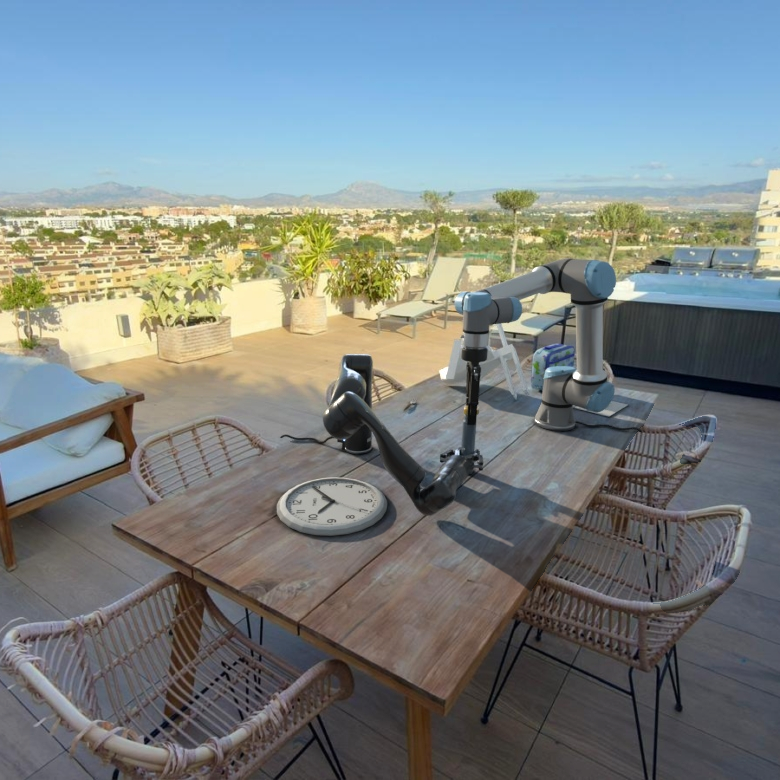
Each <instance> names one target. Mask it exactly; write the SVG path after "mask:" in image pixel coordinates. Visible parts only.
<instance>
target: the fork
mask: <svg viewBox="0 0 780 780" xmlns="http://www.w3.org/2000/svg"><path fill="white" fill-rule="evenodd" d="M418 398H419V396H415V395H413V396H412V398H411V399H410V402H409V403H408V404H407V405H406V406H405V407H404V409H403V411H406V410H407V409H409V408H410V407H411V405H413V404H416V403H417V402H418Z"/></svg>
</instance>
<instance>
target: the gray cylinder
mask: <svg viewBox="0 0 780 780" xmlns="http://www.w3.org/2000/svg"><path fill="white" fill-rule="evenodd" d="M476 423H477V420H476ZM476 434H477V424H476V425H467V415H465V414H464V419H462V432H461V446H460V447H461V455H462V456H467V455H469V454H473V453H474V451H475V450H476ZM473 473H474V469H472V470H470V472H469V474H468V475H471V474H473Z"/></svg>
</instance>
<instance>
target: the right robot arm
mask: <svg viewBox="0 0 780 780" xmlns="http://www.w3.org/2000/svg"><path fill="white" fill-rule="evenodd" d="M616 285H617V275H616V272H615V269H614V267H613V266H612V265H611V264H610V263H609V262H607V261H602V260H599V259H586V258H583V259H582V258H571V257H570V258H569V257H568V258H562V259H556V260H554V261H551V262H547V263H545V264H542V265H539V266H536V267H534V268H533V269H532V271H531V272H527V273H525V274H522V275H519V276H516V277H513V278H511V279H510V278H509V279H507V280H505V281H502V282H499V283H495V284H493V285H491V286H488V287H485V288H482V289H479V290H475V291H472V292H471V291H462V292H460V293H458V294H457V296H456V297H455V299H454V309H455V311H456V312H457V313H458V314H459V315H461V316H462V317H463V318H462V334H460V336H459V337H460V339H462V345H463V347H462V353H461V358H462V359H463V360H464V361H469V362H467V365H466V370H467V374H466V376H467V381H466V383H465V397H466V399H465V406H467V405H468V411H467V425H476V426H477V422H476V421H477V419H478V418H477V417H478V415H477V407H478V406H479V403H480V402H479V401H480V400H479V399H480V385H481V384H480V383H481V381H480V376H481V367H480V365H479V362H484V361H486V360H487V353H488V349H487V346H488V344H489V339H490V326H491V325H496V324H509V323H513V322H517V321H518V320H520V318H521V316H522V313H523V304H522V303H521V300H524V299H526V298H530V297H532V296H535V295H537V294H541V295H546V294H548V293H563V294H568V295H570V304H572V305H573V306H574V307H575V342H576V345H575V346H576V347H575V348H576V351H575V352H576V367H575V366H573V367H570V366H555V367H549V368H547V369H546V370H545V375H544V378H543V379H544V380H543V390H541V391H542V392H541V402H540V405H539V407H538V410H537V411H536V413H535V416H534V424H535V425H536V426H537V427H539V428H542V429H544V430H549V431H556V432H567V431H572V430H574V429H575V428H576V424H577V425H580V426H584V427H587V428H597V427H599V428H600V427H603V428H605V427H606V428H608V429H609V428H610V429H613V430H617V431H632V430H634V431H637V432H639V433H640V434H641V433H642V434H643V430H642V429H640V428H639V427H637V426H636V427H635V426H630V427H617V426H614V425H611V424H605V423H597V424H588V423H585V422H581V421H579V420H578V421H577V420H576V418H575V417H576V416H575V413H574V407H576V406H577V407H580V408H583V409H586V410H587V411H586V412H588V411H593V412H601V411H603V410H604V409H606V408H607V407H608V405H609V404H610V402H611V401H613V398H614V396H615V391H616V389H615V385H614V384H613V383H612V382H611V381H608V373H607V372H606V370H604V369H603V368H604V367H603V366H604V363H603V362H604V361H603V360H604V359H603V358H604V357H603V355H604V352H603V351H604V349H603V347H604V345H603V344H604V339H603V338H604V309H603V308H604V304H606V303H607V302H608V300H609V297H611V295H612V294H613V293H614V291H615V289H614V288H616ZM573 406H574V407H573ZM465 415H466V414H464V416H465Z"/></svg>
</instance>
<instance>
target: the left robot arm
mask: <svg viewBox="0 0 780 780" xmlns="http://www.w3.org/2000/svg"><path fill="white" fill-rule="evenodd" d="M373 373H374V360H373V357H372V355H371V354H367V353H365V354H364V353H356V354H355V353H349V354H348V353H347V354H343V355H342V357H341V358H340V361H339V366H338V375H337V377H336V379H335V383H334V386H333V391H332V393H331V397H330V401H329V403H328V406H327V408H326V409H325V411H324V412H323V414H322V424H323V427H324V428H325V430H326V432H327V434H329V435H330V436H329V437H326V438H325V439H324V440H319V439H317V438H315V437H295V436H293V435H290V434H281V435H280V436H279V439H283V438H284V437H285V438H290V439H292V440H295V441H305V440H306V441H314V442H316V443H318V444H325V443H326V442H328V441H329V440H331V439H335V440H336V441H337V443H340V444H341V449H342V451H345V452H346V453H348V454H352V455H365V454H367V453H370V452H371V451H372V450H373V445H372V444H373V442H372V441H373V437H374V439H375V441H376V445H377V447H378V448H377V449H378V453H379V456H380V460H381V462H382V465H383V467H384V469H385V470H386V471H387V473H388V474H389V475H390V476H392V478H393V479H394V480H395V481H396V482H398V484H400V486H401V487H402V488H403V489H404V490H405V492H406V493H407V496H408V497H409V498H410V500H411V502H412V504H413V505H414V507H415V508H416V510H417V511H418V512H419V513H420V514H422V515H423V516H427V517H432V516H434V515H436V514H437V513H439V512H440V511H442V510H443V509H445V508H446V507H448V506H449V505H451V504H452V503H453V502H454V501H455V499H456V494H457V490H458V489H459V487H460V486H461V485H462V484H463V483H464V482H465V480H466V479H467V477H468V476H469V475H470V474H469V472H470V470H472V469H473V470H474V469H478V471H480V472H481V471H484V457H483V454H481V451H480V449H479V448H475V450H474V453H473V454H469V455H467V456H462V455H461V446H460V447H458V448H457V449H455V450H454V449H452V448H451V449H448V450H446V451H444V452H441V453H440V454H439V463H441V464H442V465H441V466H440V467H439V469H438V471H437V473H435V475H434V476H433V478H432V480H431V483H430V484H428V485H427V486H425V487H422V485H421V484H422V482H423V481H424V480H425V477H426V474H427V473H426V470H425V469H424V468H423V467H422V465H420V463H418V462H417V460H415V459H414V458H413V457H412V456H411V454H410V453H408V451H406V449H404V448H403V447H402V445H401V444H400V443H399V442H398V441H397V440H396V438H395V437H394V435H393V434H392V433H391V431H389V429H388V428H387V427H386V426H385V424H384V423H383V422H382V420H381V419H380V418H379V417H378V415H377V414H376V413H375V412H374V410H373V387H372V386H373Z"/></svg>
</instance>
